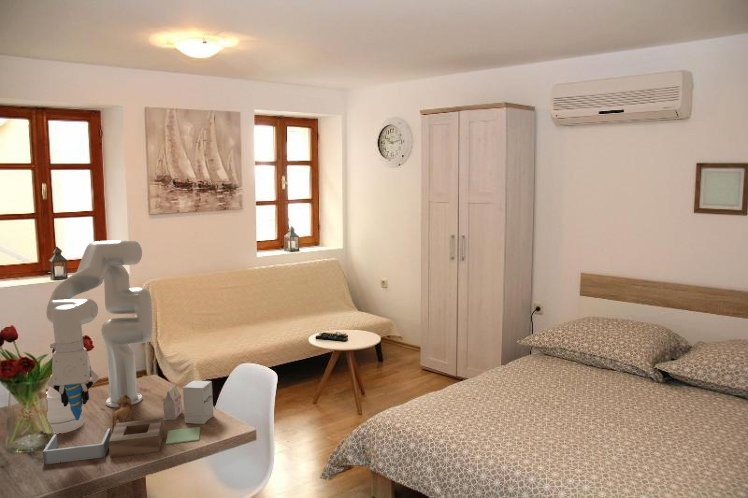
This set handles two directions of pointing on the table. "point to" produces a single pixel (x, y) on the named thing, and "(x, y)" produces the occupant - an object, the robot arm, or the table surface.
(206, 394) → the supplement box
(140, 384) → the table surface
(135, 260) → the robot arm
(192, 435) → the mat
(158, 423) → the hole deck
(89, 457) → the grey arch frame
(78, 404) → the ornament
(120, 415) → the lion figurine
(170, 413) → the white printed carton
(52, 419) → the honey pot
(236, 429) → the table surface
